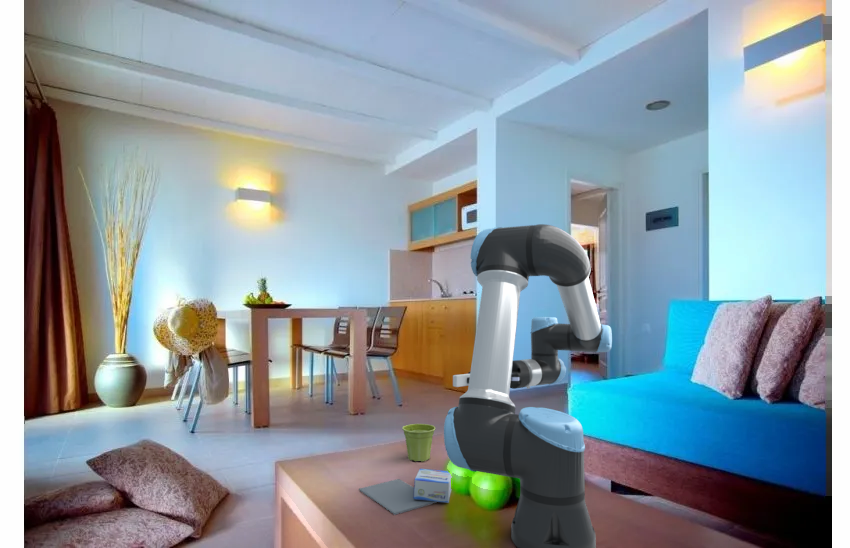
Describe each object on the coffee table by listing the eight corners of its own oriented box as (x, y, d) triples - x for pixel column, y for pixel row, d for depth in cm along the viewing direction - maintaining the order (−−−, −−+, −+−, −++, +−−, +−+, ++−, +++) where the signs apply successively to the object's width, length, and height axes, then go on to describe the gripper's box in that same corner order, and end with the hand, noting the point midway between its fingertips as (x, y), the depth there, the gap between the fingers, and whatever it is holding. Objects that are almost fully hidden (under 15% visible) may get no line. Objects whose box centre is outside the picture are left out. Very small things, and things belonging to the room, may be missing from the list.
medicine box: (452, 471, 114) (449, 482, 105) (451, 490, 113) (448, 503, 105) (419, 467, 115) (414, 479, 106) (418, 487, 114) (412, 500, 106)
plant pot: (399, 454, 140) (399, 424, 140) (430, 452, 142) (430, 422, 142) (405, 465, 131) (405, 432, 131) (439, 462, 133) (439, 430, 133)
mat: (437, 502, 106) (437, 500, 106) (394, 514, 100) (394, 513, 100) (398, 480, 120) (398, 478, 120) (359, 490, 113) (359, 488, 113)
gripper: (539, 390, 129) (471, 400, 115) (504, 384, 139) (439, 392, 126) (538, 362, 129) (471, 368, 115) (504, 358, 140) (439, 363, 126)
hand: (454, 381), depth 121 cm, fingers closed
